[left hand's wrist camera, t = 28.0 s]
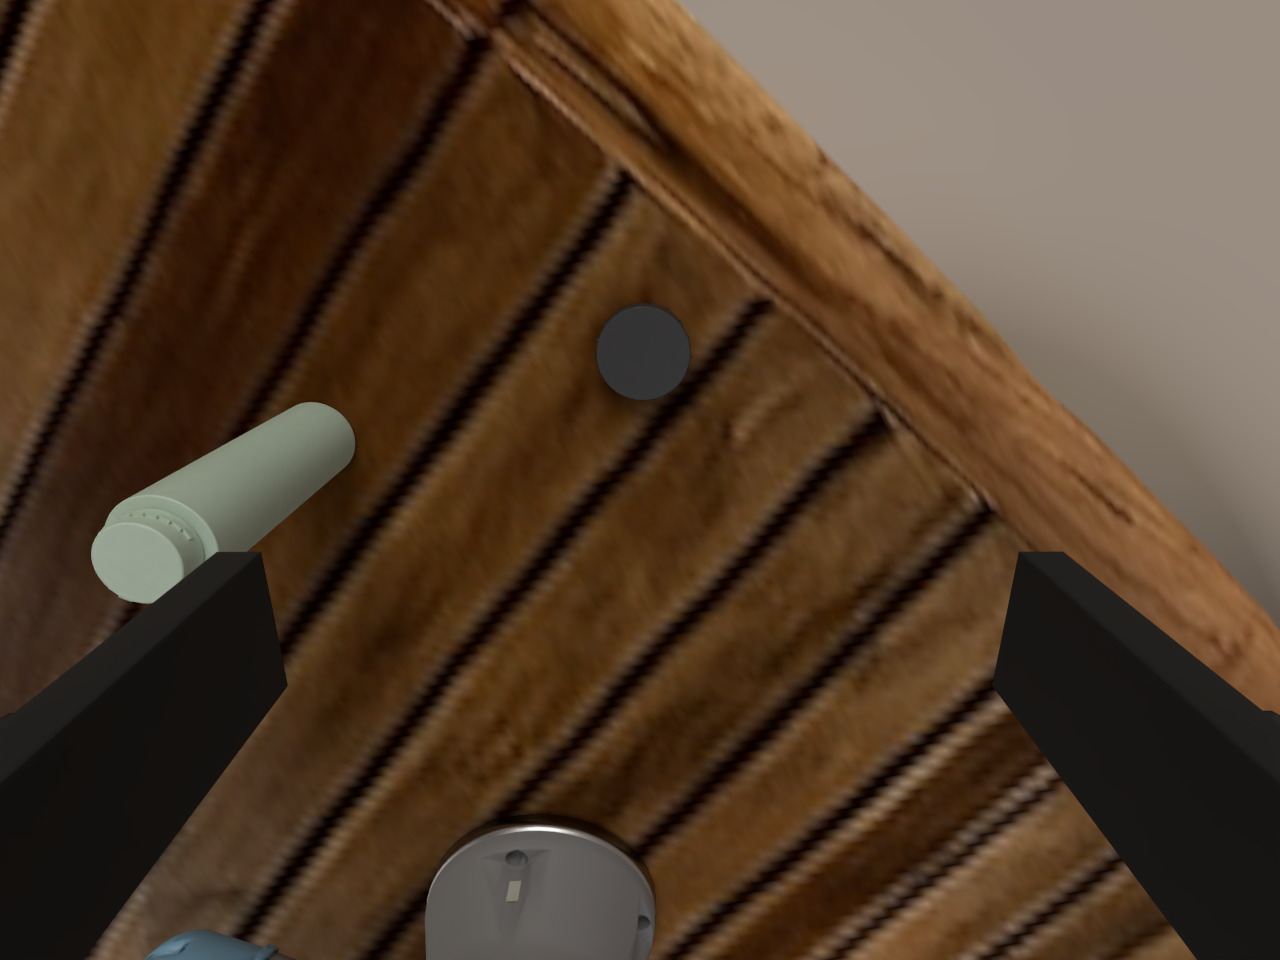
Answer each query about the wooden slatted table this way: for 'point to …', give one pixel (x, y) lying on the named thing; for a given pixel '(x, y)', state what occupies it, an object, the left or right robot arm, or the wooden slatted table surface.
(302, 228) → the wooden slatted table surface
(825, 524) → the wooden slatted table surface
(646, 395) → the lid
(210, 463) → the bottle
